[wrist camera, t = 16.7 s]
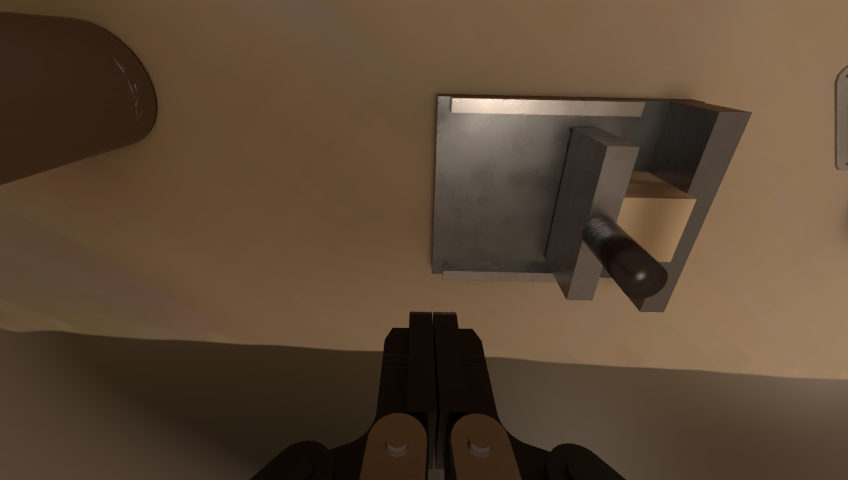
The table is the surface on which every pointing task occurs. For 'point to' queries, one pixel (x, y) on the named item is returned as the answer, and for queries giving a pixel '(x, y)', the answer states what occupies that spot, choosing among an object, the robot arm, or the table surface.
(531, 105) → the press
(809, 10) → the table surface
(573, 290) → the jaw
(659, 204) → the maple block
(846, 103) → the emergency button
